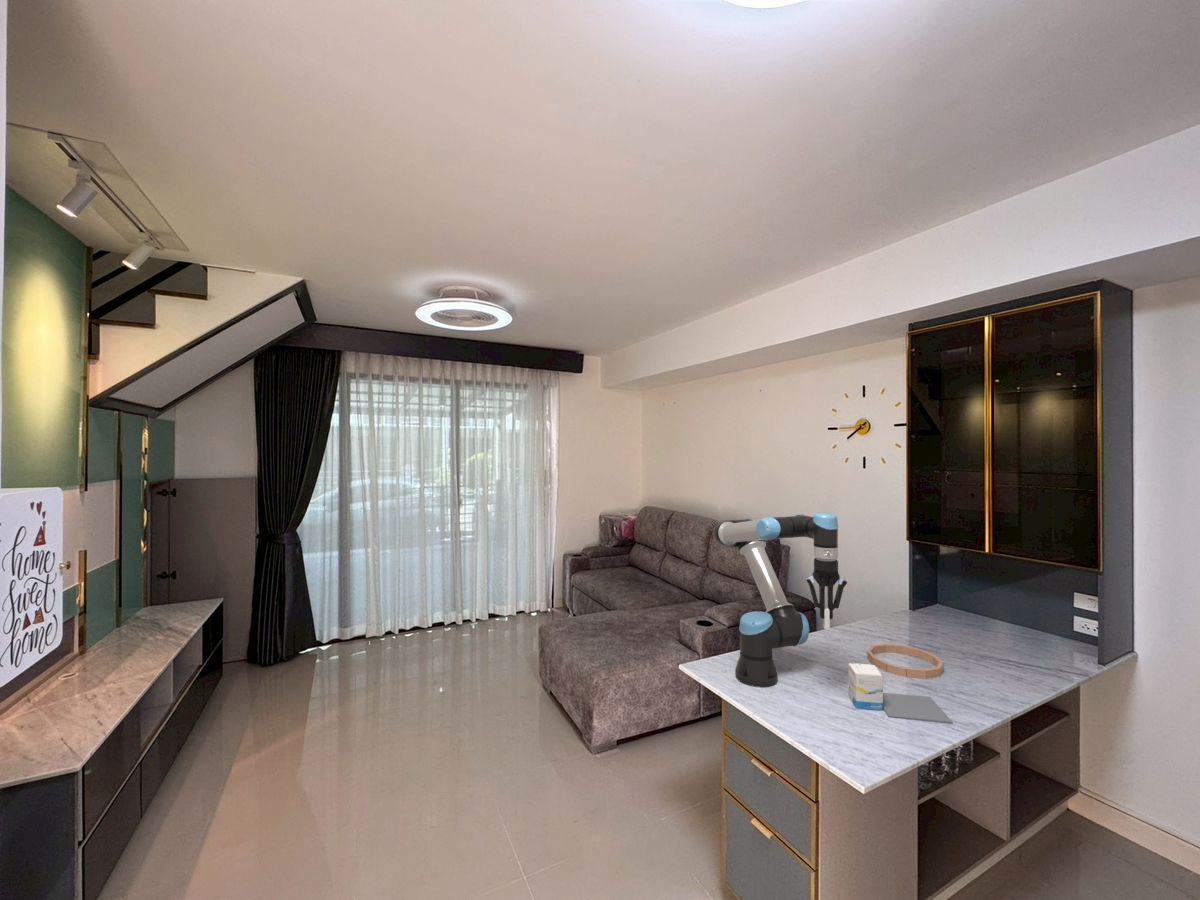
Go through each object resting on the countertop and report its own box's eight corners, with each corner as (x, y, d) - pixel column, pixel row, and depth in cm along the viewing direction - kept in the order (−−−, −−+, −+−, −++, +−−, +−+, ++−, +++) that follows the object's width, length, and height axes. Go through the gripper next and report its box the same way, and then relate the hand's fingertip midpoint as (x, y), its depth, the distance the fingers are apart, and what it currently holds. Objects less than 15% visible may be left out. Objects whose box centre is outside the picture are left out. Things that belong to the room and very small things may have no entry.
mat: (888, 717, 157) (888, 715, 157) (872, 693, 173) (872, 691, 173) (952, 723, 153) (952, 722, 153) (930, 698, 169) (930, 696, 169)
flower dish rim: (879, 675, 186) (879, 667, 186) (860, 649, 211) (860, 642, 211) (954, 681, 181) (954, 673, 181) (925, 653, 205) (925, 646, 205)
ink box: (883, 711, 161) (883, 675, 161) (855, 708, 162) (855, 673, 162) (874, 698, 169) (874, 664, 169) (848, 696, 171) (847, 662, 171)
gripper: (807, 560, 166) (808, 630, 166) (849, 562, 163) (850, 633, 163) (803, 555, 174) (803, 622, 174) (843, 557, 171) (844, 625, 171)
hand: (826, 627), depth 168 cm, fingers closed
